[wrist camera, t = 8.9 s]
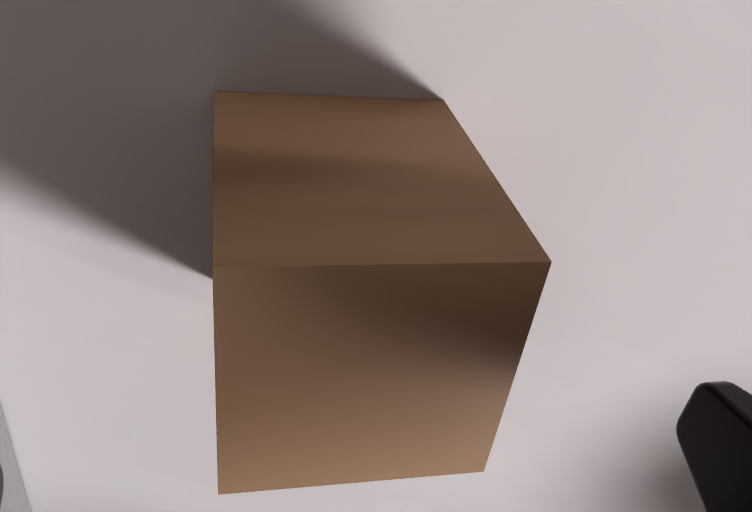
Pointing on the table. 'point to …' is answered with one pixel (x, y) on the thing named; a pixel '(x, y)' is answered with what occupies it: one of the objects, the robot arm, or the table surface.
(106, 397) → the table surface
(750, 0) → the table surface
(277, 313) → the brown wooden cube
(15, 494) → the jig
